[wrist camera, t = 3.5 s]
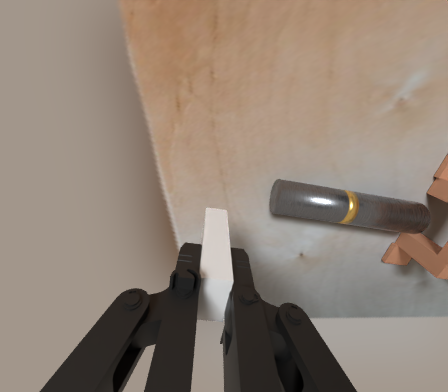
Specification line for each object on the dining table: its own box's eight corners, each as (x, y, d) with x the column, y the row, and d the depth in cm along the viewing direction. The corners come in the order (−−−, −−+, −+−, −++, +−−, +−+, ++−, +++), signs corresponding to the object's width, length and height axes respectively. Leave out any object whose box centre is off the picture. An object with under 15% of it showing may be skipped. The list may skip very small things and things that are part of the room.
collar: (449, 151, 22) (519, 168, 17) (475, 156, 23) (553, 174, 17) (381, 259, 28) (418, 296, 23) (403, 262, 29) (444, 299, 23)
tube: (267, 203, 25) (274, 219, 21) (276, 174, 23) (285, 187, 20) (392, 223, 26) (418, 241, 23) (408, 196, 25) (437, 212, 21)
